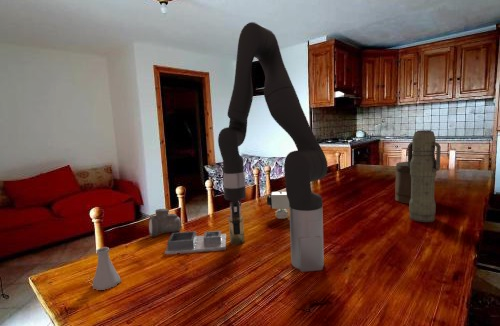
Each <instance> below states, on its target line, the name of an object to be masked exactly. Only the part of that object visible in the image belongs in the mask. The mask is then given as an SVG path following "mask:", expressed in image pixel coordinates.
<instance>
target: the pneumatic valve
mask: <svg viewBox="0 0 500 326" xmlns="http://www.w3.org/2000/svg"><path fill="white" fill-rule="evenodd" d="M266 205H267V206H269V208H270V210H273V209H275V210H276V211H275V212H274V213H275V215H274V216H275V217H276V219H278V220H281V219H282V220H283V219H284V220H285V219H286V218H288V216H289V213H288V210H289V200H288V197H287V194H286V191H282V190H279V191H271V192H270V194H268V195H267V197H266Z"/></svg>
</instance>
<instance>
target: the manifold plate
mask: <svg viewBox="0 0 500 326" xmlns="http://www.w3.org/2000/svg"><path fill="white" fill-rule="evenodd" d="M166 245H167V247H166V248H165V251H164V255H165V254H167V255H177V253H180V254H189V253H202V252H203V253H204V252H216V251H218V252H219V251H226V248H227V233H222V230H212V231H204V234H203V235H197V230H194V231H181V232H180V231H178V232H171V234H170V236H169V238H168V240H167V244H166Z"/></svg>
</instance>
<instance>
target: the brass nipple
mask: <svg viewBox="0 0 500 326" xmlns="http://www.w3.org/2000/svg"><path fill="white" fill-rule="evenodd" d="M244 219H245V218H244V215H242V214H241V217H240V234H238V235H234V231H233V223H232V218H231V215H230V216H229V215H228V217H227V221H228V227H229V228H228V229H229V230H228V231H229V243H230V244H231V245H233V246H238V245H242V244H244V243H245V231H244V230H245V229H244ZM234 220H238V218H234Z"/></svg>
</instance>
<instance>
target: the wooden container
mask: <svg viewBox="0 0 500 326" xmlns="http://www.w3.org/2000/svg"><path fill="white" fill-rule="evenodd" d="M395 165H396V166H395V167H396V168H395V182H394V183H395V188H394V189H395V190H394V192H395V194H394V196H395V197H394V200H395V201H396V202H398V203H401V204H408V205H409V202H410V199H411V175H410V168H409V167H408V161H401V162H396V164H395Z"/></svg>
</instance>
